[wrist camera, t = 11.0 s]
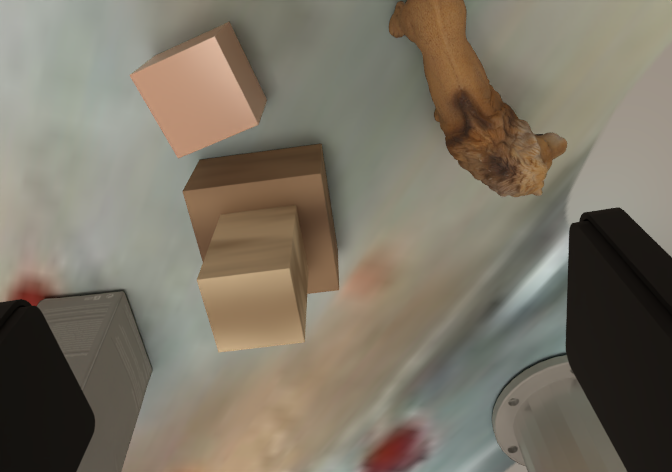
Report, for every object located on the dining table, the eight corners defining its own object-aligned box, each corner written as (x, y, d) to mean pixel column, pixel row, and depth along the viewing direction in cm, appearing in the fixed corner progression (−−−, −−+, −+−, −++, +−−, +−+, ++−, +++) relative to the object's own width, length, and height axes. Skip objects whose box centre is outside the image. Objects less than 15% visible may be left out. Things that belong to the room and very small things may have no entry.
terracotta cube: (267, 99, 36) (258, 124, 31) (196, 130, 37) (178, 158, 32) (229, 21, 34) (214, 36, 29) (154, 55, 35) (129, 75, 30)
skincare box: (41, 295, 42) (-98, 477, 29) (137, 286, 42) (44, 466, 28) (77, 381, 46) (-30, 578, 33) (164, 374, 46) (94, 569, 32)
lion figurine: (537, 121, 37) (594, 175, 29) (464, 168, 38) (500, 232, 30) (410, -93, 31) (439, -98, 23) (331, -28, 32) (332, -12, 25)
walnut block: (337, 250, 41) (339, 290, 37) (226, 264, 41) (215, 304, 37) (321, 143, 37) (320, 173, 33) (199, 159, 38) (182, 191, 33)
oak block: (308, 269, 36) (304, 342, 30) (237, 278, 36) (218, 352, 30) (296, 204, 34) (289, 268, 28) (220, 214, 34) (196, 279, 28)
